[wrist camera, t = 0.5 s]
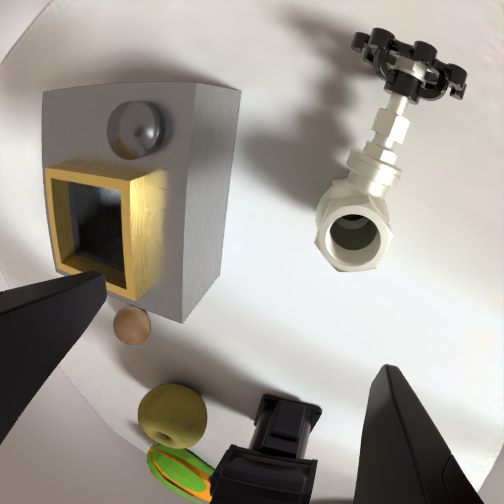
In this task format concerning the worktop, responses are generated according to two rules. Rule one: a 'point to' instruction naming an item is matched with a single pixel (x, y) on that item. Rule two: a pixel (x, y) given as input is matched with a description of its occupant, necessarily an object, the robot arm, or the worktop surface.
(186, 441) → the apple
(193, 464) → the corn
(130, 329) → the bead
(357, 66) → the worktop surface
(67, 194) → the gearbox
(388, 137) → the valve
